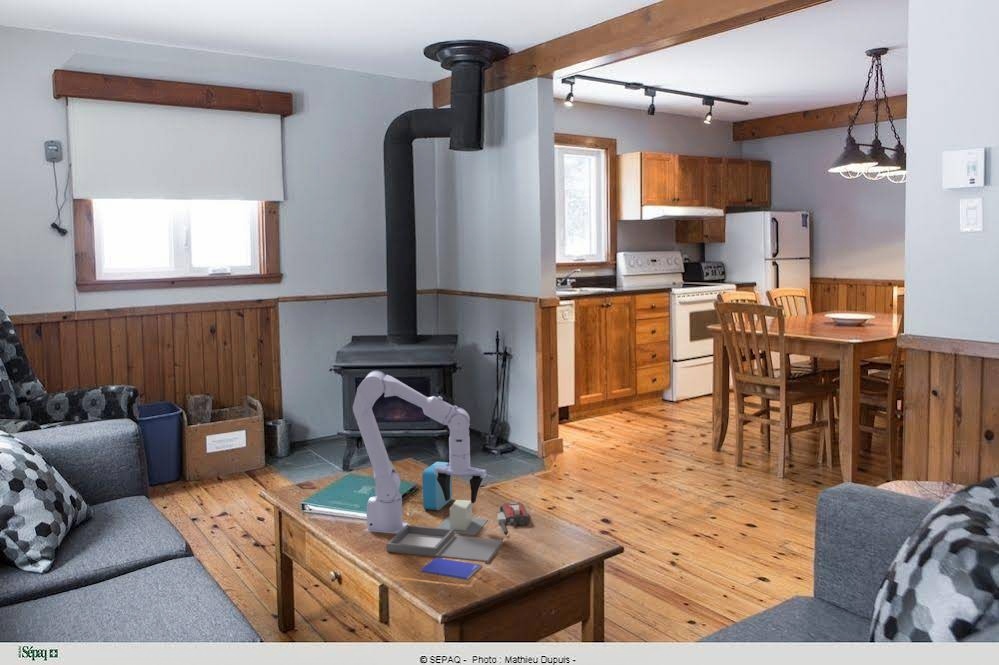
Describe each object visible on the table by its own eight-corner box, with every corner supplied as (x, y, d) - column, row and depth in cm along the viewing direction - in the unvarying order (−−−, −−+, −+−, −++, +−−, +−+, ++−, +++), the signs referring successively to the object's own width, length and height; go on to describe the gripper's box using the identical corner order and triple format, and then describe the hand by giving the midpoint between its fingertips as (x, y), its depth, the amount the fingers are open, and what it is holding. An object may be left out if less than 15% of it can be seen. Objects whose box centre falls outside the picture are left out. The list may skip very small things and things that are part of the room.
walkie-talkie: (493, 512, 233) (502, 538, 213) (493, 498, 232) (501, 522, 212) (522, 510, 234) (534, 536, 214) (522, 496, 233) (533, 520, 213)
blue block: (439, 497, 245) (438, 460, 244) (452, 499, 244) (451, 461, 243) (423, 510, 234) (421, 471, 233) (437, 512, 233) (435, 472, 231)
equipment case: (386, 553, 203) (386, 543, 203) (407, 533, 216) (407, 524, 216) (487, 563, 195) (487, 553, 195) (502, 542, 208) (502, 533, 208)
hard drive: (481, 563, 193) (436, 556, 198) (467, 577, 185) (420, 569, 190) (481, 570, 193) (436, 562, 198) (467, 583, 186) (420, 575, 190)
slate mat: (433, 533, 216) (433, 530, 216) (448, 517, 228) (448, 515, 228) (475, 537, 213) (475, 534, 213) (488, 521, 224) (488, 519, 224)
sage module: (450, 529, 217) (449, 508, 216) (456, 520, 224) (456, 499, 223) (465, 530, 216) (465, 509, 216) (472, 521, 223) (471, 500, 222)
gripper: (489, 451, 219) (489, 498, 221) (440, 447, 223) (441, 494, 225) (481, 458, 213) (482, 506, 214) (431, 454, 217) (432, 502, 218)
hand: (460, 500), depth 219 cm, fingers open, 7 cm apart
